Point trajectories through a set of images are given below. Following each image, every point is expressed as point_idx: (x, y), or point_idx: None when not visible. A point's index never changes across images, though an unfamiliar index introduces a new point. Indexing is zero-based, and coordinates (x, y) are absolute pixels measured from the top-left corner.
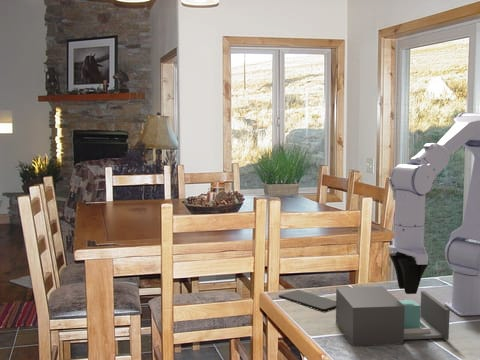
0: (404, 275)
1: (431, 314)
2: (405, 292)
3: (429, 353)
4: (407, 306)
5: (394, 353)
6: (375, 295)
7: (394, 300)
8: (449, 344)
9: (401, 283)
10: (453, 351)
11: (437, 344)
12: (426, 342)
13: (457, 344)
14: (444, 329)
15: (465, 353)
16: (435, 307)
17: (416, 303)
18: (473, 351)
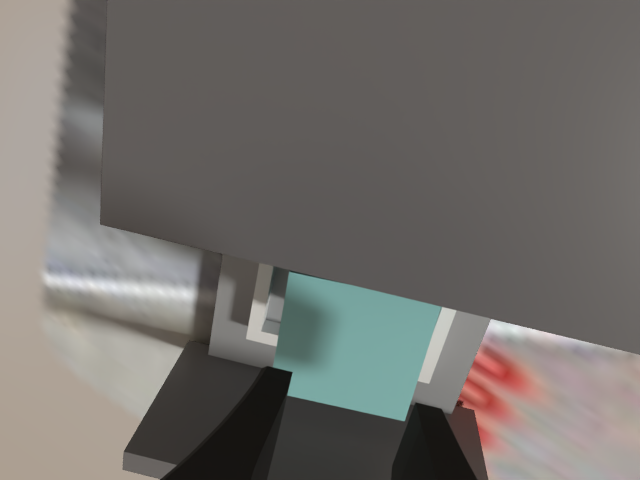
0: (178, 477)
1: (331, 427)
2: (281, 372)
3: (74, 193)
4: (282, 313)
5: (95, 18)
6: (442, 146)
7: (249, 228)
8: (158, 333)
9: (413, 446)
10: (84, 301)
11: (167, 289)
12: (200, 259)
13: (152, 361)
14: (175, 372)
15: (58, 329)
16: (272, 460)
17: (318, 396)
18: (74, 368)
